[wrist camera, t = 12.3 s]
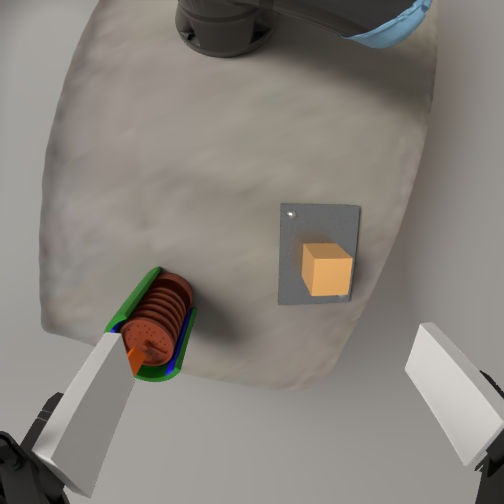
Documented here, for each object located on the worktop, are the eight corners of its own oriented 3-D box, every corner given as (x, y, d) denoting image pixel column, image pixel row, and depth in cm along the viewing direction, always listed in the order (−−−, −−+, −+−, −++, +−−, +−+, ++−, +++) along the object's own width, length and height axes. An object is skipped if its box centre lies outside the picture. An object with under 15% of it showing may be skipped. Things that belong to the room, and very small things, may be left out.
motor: (208, 296, 45) (188, 382, 26) (179, 330, 47) (150, 417, 28) (157, 258, 43) (103, 326, 24) (131, 296, 45) (78, 371, 26)
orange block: (303, 243, 41) (314, 258, 35) (336, 243, 42) (352, 258, 35) (301, 275, 43) (311, 296, 36) (333, 275, 43) (347, 294, 37)
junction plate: (280, 203, 41) (286, 209, 35) (357, 205, 41) (372, 211, 36) (277, 302, 45) (282, 319, 40) (347, 299, 46) (358, 315, 40)
